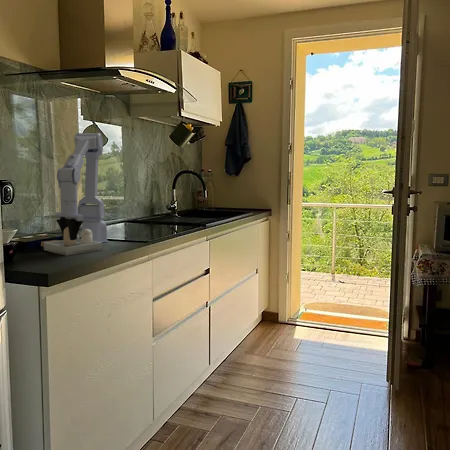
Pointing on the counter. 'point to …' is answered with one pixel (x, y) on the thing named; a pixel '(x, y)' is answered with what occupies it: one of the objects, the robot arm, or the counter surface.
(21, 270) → the counter surface
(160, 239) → the counter surface
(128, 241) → the counter surface
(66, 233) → the egg
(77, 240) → the white square tray shape
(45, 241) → the egg stand
